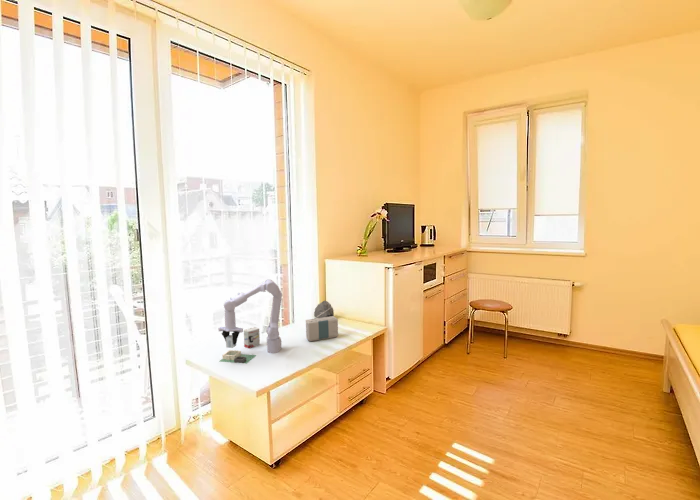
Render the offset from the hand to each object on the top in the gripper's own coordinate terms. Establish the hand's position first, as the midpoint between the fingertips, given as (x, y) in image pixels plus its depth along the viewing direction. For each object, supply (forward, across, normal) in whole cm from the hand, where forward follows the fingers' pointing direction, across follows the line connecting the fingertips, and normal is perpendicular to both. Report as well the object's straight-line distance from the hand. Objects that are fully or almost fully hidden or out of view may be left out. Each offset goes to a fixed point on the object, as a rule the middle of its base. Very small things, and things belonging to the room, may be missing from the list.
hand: (231, 343), depth 209 cm
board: (+9, +4, -1) cm, 10 cm away
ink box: (+9, +3, +19) cm, 21 cm away
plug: (+2, 0, 0) cm, 2 cm away
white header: (+8, 0, 0) cm, 8 cm away
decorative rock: (+9, +31, +85) cm, 91 cm away
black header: (+8, +8, -5) cm, 12 cm away
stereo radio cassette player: (+9, +42, +42) cm, 60 cm away
